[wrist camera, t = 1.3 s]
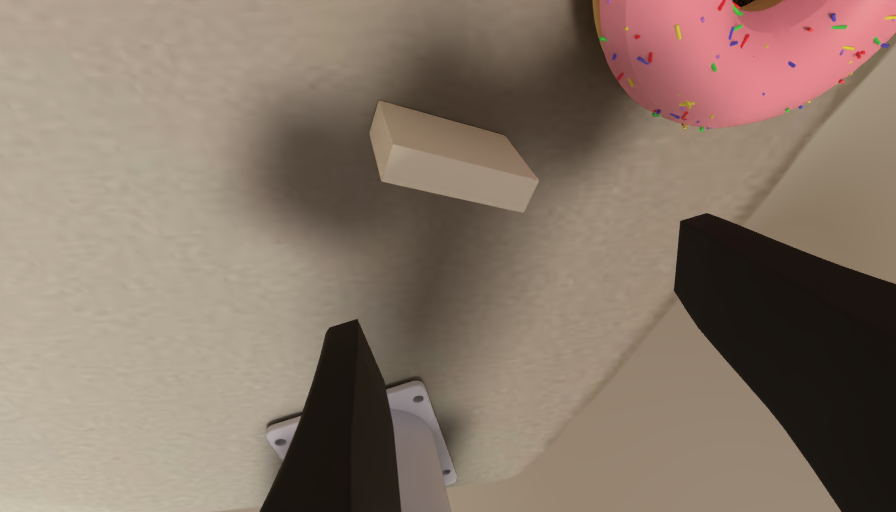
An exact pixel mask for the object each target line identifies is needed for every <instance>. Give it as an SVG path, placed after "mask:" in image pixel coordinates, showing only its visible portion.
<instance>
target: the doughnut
mask: <svg viewBox="0 0 896 512" xmlns="http://www.w3.org/2000/svg"><path fill="white" fill-rule="evenodd" d="M592 1H593V13H594V20H595V25H596V30H597V34H598V37H599V41H600V44H601V46H602V49H603V51H604V54H605V57H606V61H607V63H608V65H609V67H610V69H611V71H612V73H613V74H614V76H615V77H616V79H617V81H618V82H619V83H620V85H621V86H622V88H623V89H624V90H625V91H626V93H627V94H628V95H629V96H630V97H631V98H632V99H633V100H634V101H635V102H636V103H637V104H639V105H640V106H642V107H644V108H646V109H648V110H650V111H651V112H653V116H654V117H655V116H662V117H664V118H666V119H669V120H672V121H675V122H678V123H681V124H682V125H683V130H686V125H691V126H699V127H701V128H700V130H699V132H702V131H703V129H704V127H707V129H711V128H721V127H730V126H737V125H743V124H748V123H753V122H758V121H762V120H766V119H769V118H772V117H775V116H778V115H781V114H783V113H785V112H789V111H790V110H792V109H794V108H797V107H799V109H801V108H802V105H803V104H805V103H810V101H811V100H812V99H814V98H816V97H817V96H819V95H821V94H822V93H824V92H825V91H827V90H829V89H830V88H832V87H833V86H834V85H836V84H837V83H839V82H840V83H841V84H843V83H844V82H845V81H843V79H844V78H846V77H847V76H848V75H849V76H850V75H852V72H853V71H855V70H856V69H857V68H858V67H859V66H861V65H862V64H863V63H864V62H865V61H867V60H868V59H869V58H870V57H871V56H872V55H873V54H875V53H876V52H877V51H878V50H879V49H880V48H881V47H886V48H888V46H889V44H885V43H886V42H887V41H888V40H889V39H890V38H891V37H892V36H893V35H894V34H895V33H896V0H754V1H753V2H751V3H749V4H747V5H745V6H743V7H740V6H738V5H737V4H736V3H734V2H733V1H732V0H592Z"/></svg>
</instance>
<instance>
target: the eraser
mask: <svg viewBox="0 0 896 512" xmlns="http://www.w3.org/2000/svg"><path fill="white" fill-rule="evenodd" d="M369 134H370V138H371V142H372V146H373V150H374V154H375V158H376V162H377V166H378V170H379V174H380V178H381V182H386V183H390V184H395V185H399V186H404V187H408V188H413V189H417V190H422V191H427V192H431V193H436V194H440V195H445V196H449V197H454V198H458V199H463V200H467V201H472V202H476V203H481V204H485V205H490V206H494V207H499V208H503V209H508V210H512V211H517V212H522V213H524V211H525V209H526V207H527V205H528V203H529V201H530V199H531V197H532V195H533V193H534V191H535V189H536V187H537V185H538V183H539V180H538V178H537V177H536V176H535V174H534V173H533V172H532V170H531V169H530V168H529V166H528V165H527V164H526V163H525V161H524V160H523V159H522V157H521V156H520V155H519V153H518V152H517V151H516V149H515V148H514V147H513V146H512V144H511V143H510V142H509V140H508V139H507V138H506V136H505V135H501V134H498V133H494V132H491V131H487V130H484V129H480V128H476V127H473V126H469V125H466V124H462V123H459V122H455V121H451V120H448V119H444V118H441V117H437V116H433V115H430V114H426V113H423V112H419V111H416V110H412V109H408V108H405V107H401V106H398V105H394V104H391V103H387V102H383V101H380V100H379V101H378V105H377V108H376V111H375V115H374V118H373V122H372V125H371V129H370V132H369Z"/></svg>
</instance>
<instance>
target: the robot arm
mask: <svg viewBox="0 0 896 512" xmlns="http://www.w3.org/2000/svg"><path fill="white" fill-rule="evenodd" d="M674 291H675V293H676V294H677V296H678V298H679V299H680V301H681V302H682V304H683V306H684V307H685V309H686V310H687V312H688V313H689V315H690V316H691V318H692V319H693V320H694V322H695V324H696V325H697V327H698V328H699V329H700V330H701V332H702V333H703V334H704V335H705V336H706V337H707V339H708V340H709V341H710V342H711V343H712V345H713V346H714V347H715V348H716V349H717V350H718V351H719V353H720V354H721V355H722V356H723V357H724V358H725V360H726V361H727V362H728V363H729V364H730V365H731V366H732V368H733V369H734V370H735V371H736V372H737V373H738V374H739V376H740V377H741V378H742V379H743V380H744V381H745V382H746V383H747V385H748V386H749V387H750V388H751V389H752V390H753V392H754V393H755V394H756V395H757V396H758V397H759V398H760V400H761V401H762V402H763V403H764V404H765V405H766V406H767V408H768V409H769V410H770V411H771V413H772V414H773V415H774V416H775V417H776V419H777V420H778V421H779V422H780V424H781V425H782V426H783V428H784V429H785V430H786V431H787V433H788V435H789V436H790V437H791V439H792V440H793V442H794V443H795V444H796V446H797V447H798V449H799V450H800V451H801V453H802V454H803V456H804V457H805V459H806V460H807V461H808V463H809V464H810V466H811V467H812V468H813V470H814V471H815V473H816V474H817V476H818V477H819V479H820V480H821V482H822V483H823V485H824V486H825V488H826V489H827V491H828V492H829V494H830V495H831V497H832V498H833V499H834V501H835V503H836V504H837V506H838V507H839V509H840V510H841V512H896V284H894V283H891V282H888V281H884V280H881V279H878V278H875V277H872V276H870V275H867V274H864V273H861V272H858V271H855V270H852V269H849V268H846V267H843V266H840V265H838V264H835V263H833V262H830V261H827V260H824V259H822V258H819V257H816V256H814V255H811V254H809V253H806V252H804V251H801V250H798V249H796V248H793V247H791V246H789V245H786V244H784V243H781V242H779V241H776V240H774V239H771V238H769V237H766V236H764V235H762V234H759V233H757V232H754V231H752V230H749V229H747V228H744V227H742V226H740V225H737V224H735V223H732V222H730V221H727V220H724V219H722V218H719V217H716V216H714V215H711V214H708V213H705V214H702V215H699V216H695V217H692V218H689V219H686V220H682V221H680V230H679V241H678V252H677V263H676V274H675V285H674ZM266 439H267V440H268V442H269V443H270V444H271V446H272V447H273V449H274V450H275V451H276V453H277V454H278V455H279V457H280V458H281V460H282V461H283V463H282V465H281V467H280V470H279V472H278V474H277V476H276V478H275V481H274V483H273V485H272V487H271V489H270V491H269V493H268V495H267V497H266V499H265V501H264V503H263V506H262V508H261V510H260V512H451V509H450V505H449V500H448V496H447V492H446V486H449V485H452V484H454V483H455V482H456V481H457V475H456V471H455V469H454V466H453V463H452V460H451V458H450V455H449V452H448V449H447V446H446V444H445V441H444V438H443V435H442V432H441V430H440V427H439V424H438V421H437V419H436V416H435V413H434V410H433V407H432V405H431V402H430V399H429V396H428V394H427V391H426V388H425V385H424V384H423V382H421V381H411V382H408V383H405V384H402V385H398V386H395V387H392V388H389V389H386V387H385V383H384V379H383V377H382V375H381V372H380V370H379V368H378V365H377V363H376V361H375V358H374V356H373V354H372V352H371V349H370V347H369V345H368V342H367V340H366V338H365V335H364V333H363V331H362V328H361V326H360V324H359V321H358V319H356V320H353V321H350V322H346V323H343V324H340V325H336V326H333V327H330V328H329V329H328V330H327V332H326V334H325V339H324V343H323V347H322V351H321V355H320V358H319V362H318V366H317V369H316V372H315V376H314V379H313V382H312V385H311V388H310V391H309V394H308V397H307V400H306V403H305V406H304V409H303V412H302V415H301V416H299V417H296V418H293V419H289V420H286V421H283V422H280V423H276V424H273V425H271V426H269V427H268V428H267V430H266Z"/></svg>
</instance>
